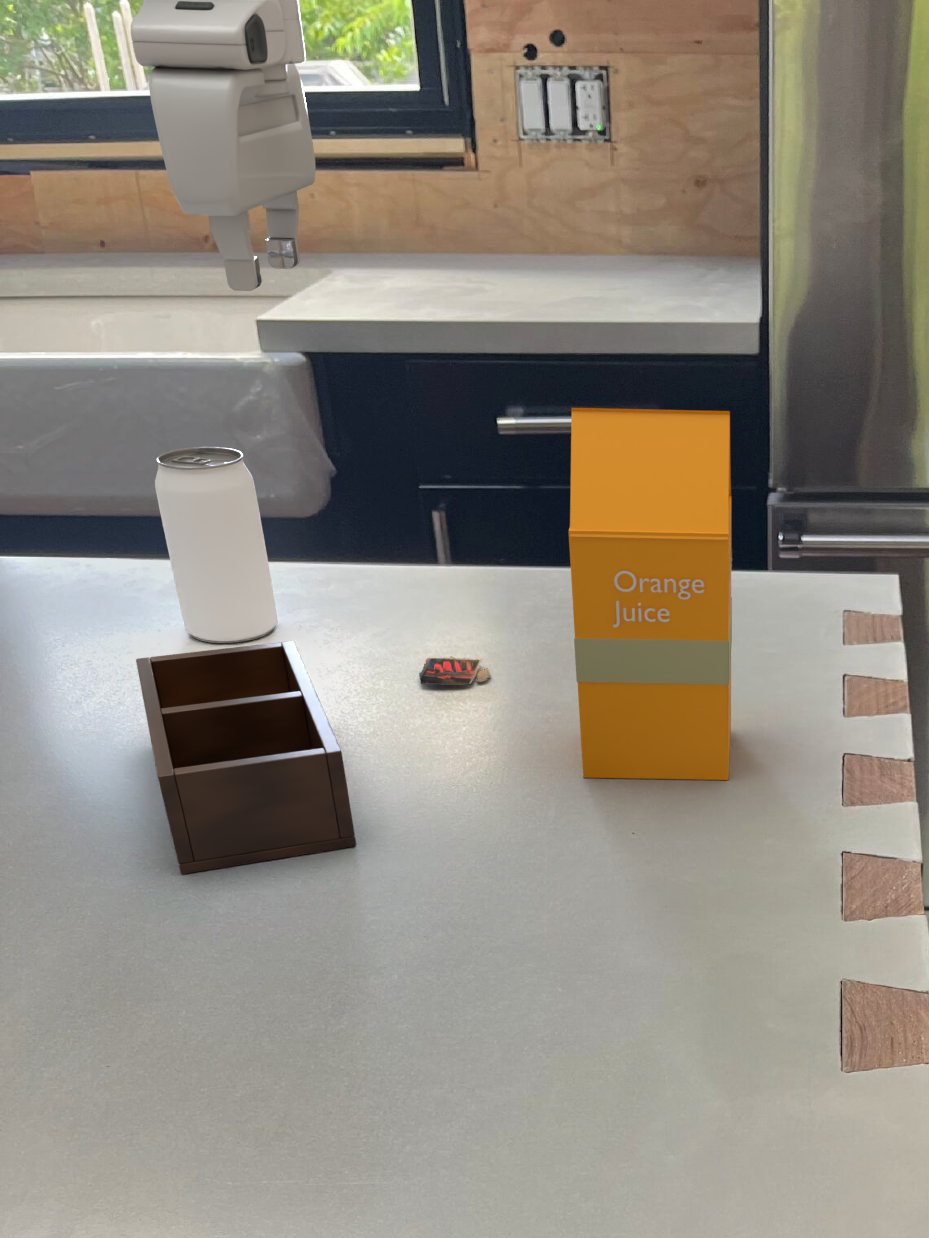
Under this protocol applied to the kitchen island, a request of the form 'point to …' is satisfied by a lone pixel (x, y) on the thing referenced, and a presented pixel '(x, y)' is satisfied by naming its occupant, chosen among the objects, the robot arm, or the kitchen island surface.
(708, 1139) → the kitchen island surface
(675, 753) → the orange juice
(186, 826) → the holder
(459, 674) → the matchbox
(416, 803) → the kitchen island surface
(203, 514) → the can
